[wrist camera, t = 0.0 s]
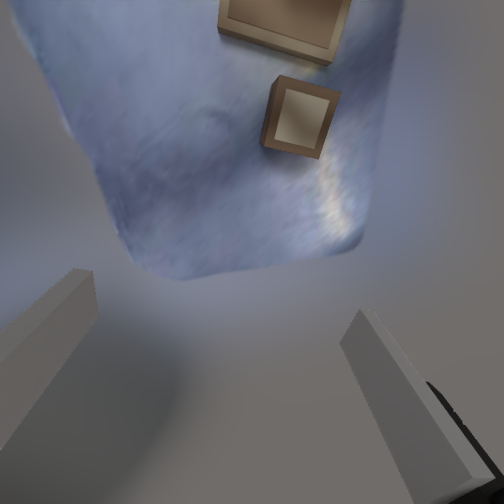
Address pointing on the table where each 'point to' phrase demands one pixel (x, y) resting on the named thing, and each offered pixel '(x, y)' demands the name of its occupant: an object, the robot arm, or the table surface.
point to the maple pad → (287, 25)
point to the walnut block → (298, 117)
